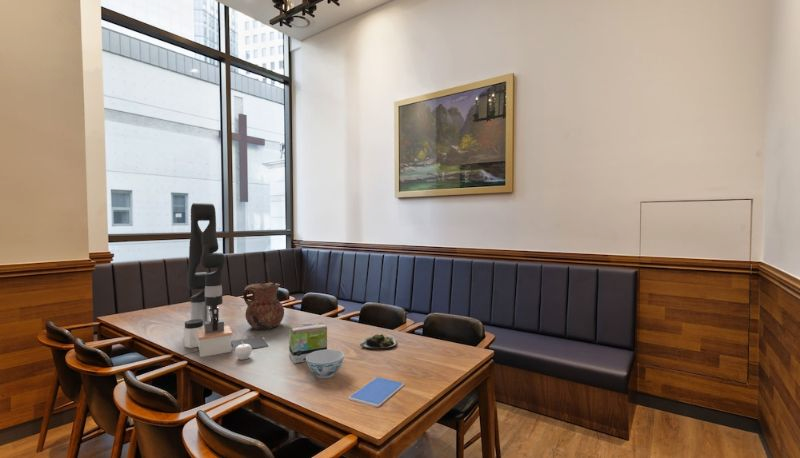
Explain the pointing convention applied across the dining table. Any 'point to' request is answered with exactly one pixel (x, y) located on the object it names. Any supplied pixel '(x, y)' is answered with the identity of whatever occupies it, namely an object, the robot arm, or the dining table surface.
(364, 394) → the tablet computer
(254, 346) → the mat
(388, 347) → the salad plate
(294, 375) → the dining table surface
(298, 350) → the tea box
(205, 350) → the storage box
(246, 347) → the plain white apple
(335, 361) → the chinaware
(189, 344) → the jar
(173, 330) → the dining table surface
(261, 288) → the jug
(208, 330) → the lid
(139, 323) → the dining table surface
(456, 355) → the dining table surface
